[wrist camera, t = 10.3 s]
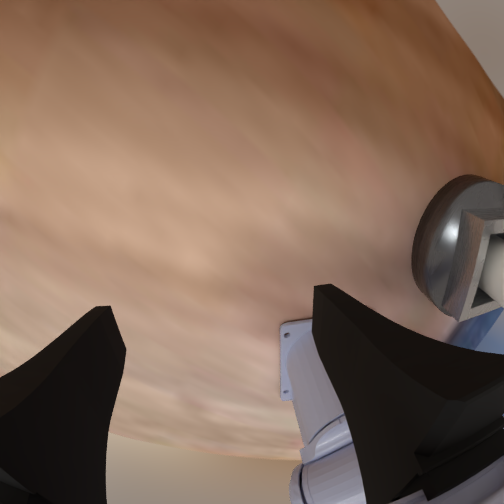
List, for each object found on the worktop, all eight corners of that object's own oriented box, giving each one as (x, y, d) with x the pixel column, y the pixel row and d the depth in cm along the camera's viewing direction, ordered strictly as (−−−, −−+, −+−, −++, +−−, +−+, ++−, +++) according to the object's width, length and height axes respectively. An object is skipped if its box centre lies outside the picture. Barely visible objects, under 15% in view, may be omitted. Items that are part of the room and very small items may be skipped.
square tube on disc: (485, 288, 25) (516, 315, 20) (400, 310, 24) (432, 348, 19) (507, 177, 20) (549, 194, 15) (420, 172, 19) (470, 190, 14)
